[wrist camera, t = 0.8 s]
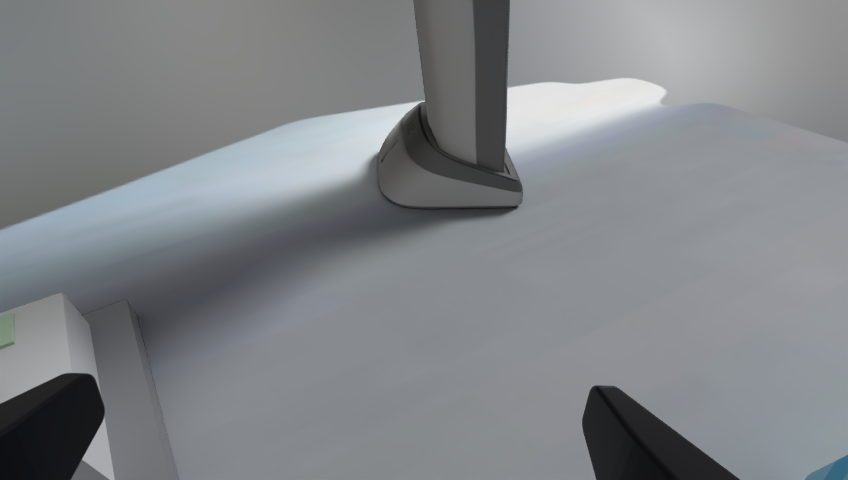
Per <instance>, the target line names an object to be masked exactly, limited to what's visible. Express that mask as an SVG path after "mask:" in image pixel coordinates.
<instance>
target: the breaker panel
mask: <svg viewBox="0 0 848 480" xmlns="http://www.w3.org/2000/svg"><path fill="white" fill-rule="evenodd" d="M65 373H88V374H91V375H92V376H93V377H95V379H96V382H97V385H98V388H99V391H100V394H101V397H102V400H103V403H104V406H105V415H104V419H103V422H102V424H101V426H100V428H99V429H98V431H97V433H96V435H95V437H94V439H93V440H92V442H91V444H90V446H89V448H88V449H87V451H86V453H85V455H84V457H83V459H82V460H81V462H80V464H79V466H78V468H77V470H76V471H75V473H74V475H73V477H72V479H71V480H179V478H178V474H177V470H176V466H175V462H174V459H173V455H172V451H171V447H170V443H169V439H168V435H167V431H166V427H165V424H164V420H163V416H162V412H161V408H160V404H159V400H158V396H157V393H156V389H155V385H154V381H153V377H152V373H151V369H150V365H149V361H148V358H147V354H146V350H145V346H144V342H143V338H142V334H141V330H140V326H139V323H138V319H137V315H136V313H135V311H134V310H133V308H132V307H131V305H130V304H129V302H128V301H127V299H124V300H122V301H119V302H116V303H113V304H111V305H108V306H105V307H103V308H100V309H97V310H95V311H92V312H89V313H86V314H84V315H81V314H80V313H79V311H78V310H77V309H76V308H75V307H74V305H73V304H72V303H71V302H70V301H69V299H68V298H67V297H66V296H65V295H64V293H63V292H60V293H57V294H54V295H51V296H48V297H45V298H42V299H39V300H36V301H33V302H30V303H28V304H25V305H22V306H19V307H16V308H13V309H10V310H7V311H4V312H1V313H0V404H1V403H3V402H5V401H7V400H9V399H11V398H13V397H15V396H17V395H19V394H22V393H24V392H26V391H28V390H30V389H32V388H34V387H36V386H38V385H40V384H42V383H44V382H47V381H49V380H51V379H53V378H55V377H57V376H59V375H61V374H65Z"/></svg>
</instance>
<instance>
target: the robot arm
mask: <svg viewBox="0 0 848 480" xmlns="http://www.w3.org/2000/svg"><path fill="white" fill-rule="evenodd" d="M104 415H105V406H104V403H103V400H102V397H101V394H100V391H99V388H98V385H97V382H96V379H95V377H93V376H92V375H91V374H88V373H65V374H61V375H59V376H57V377H55V378H53V379H51V380H49V381H47V382H44V383H42V384H40V385H38V386H36V387H34V388H32V389H30V390H28V391H26V392H24V393H22V394H19V395H17V396H15V397H13V398H11V399H9V400H7V401H5V402H3V403H1V404H0V480H71V479H72V477H73V475H74V473H75V471H76V470H77V468H78V466H79V464H80V462H81V460H82V459H83V457H84V455H85V453H86V451H87V449H88V448H89V446H90V444H91V442H92V440H93V439H94V437H95V435H96V433H97V431H98V429H99V428H100V426H101V424H102V422H103V419H104ZM582 427H583V432H584V436H585V440H586V443H587V447H588V451H589V454H590V458H591V462H592V465H593V469H594V473H595V476H596V480H740V479H739V478H737V477H736V476H735V475H733V474H732V473H731V472H729V471H728V470H727V469H725V468H724V467H723V466H721V465H720V464H719V463H717V462H716V461H715V460H713V459H712V458H711V457H709V456H708V455H707V454H705V453H704V452H703V451H701V450H700V449H699V448H697V447H696V446H695V445H693V444H692V443H691V442H689V441H688V440H687V439H685V438H684V437H683V436H681V435H680V434H679V433H677V432H676V431H675V430H673V429H672V428H671V427H669V426H668V425H667V424H665V423H664V422H663V421H661V420H660V419H659V418H657V417H656V416H655V415H653V414H652V413H651V412H649V411H648V410H647V409H645V408H644V407H643V406H641V405H640V404H639V403H637V402H636V401H635V400H633V399H632V398H631V397H629V396H628V395H627V394H625V393H624V392H623V391H621V390H620V389H619V388H617V387H615V386H600V385H596V386H593V387H592V388H591V390H590V392H589V396H588V400H587V403H586V407H585V411H584V415H583V419H582Z"/></svg>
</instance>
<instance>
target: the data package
mask: <svg viewBox="0 0 848 480" xmlns="http://www.w3.org/2000/svg"><path fill="white" fill-rule="evenodd" d="M805 480H848V455H847V456H845V457H843V458H841V459H839V460H837V461H835V462H833V463H831V464H829V465H827V466H825V467H823V468H821V469H819V470H817V471H815V472H813V473H811V474H810V475H808V476H807V478H806V479H805Z"/></svg>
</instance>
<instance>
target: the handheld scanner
mask: <svg viewBox="0 0 848 480" xmlns="http://www.w3.org/2000/svg"><path fill="white" fill-rule="evenodd" d="M509 9H510V0H414V10H415V19H416V28H417V35H418V44H419V52H420V60H421V68H422V75H423V84H424V93H425V102H421V103H419V104H418V105H417V106H415V107H414V108H413V109H411V110H410V111H409V112H408V113H406V114H405V116H404V117H403V118H402V119H401V120H400V121H399V122H398V124H397V125H396V126H395V127H394V128H393V129H392V131H391V132H390V133H389V134H388V136H387V138H386V139H385V141H384V143H383V145H382V147H381V149H380V152H379V155H378V183H379V187H380V189H381V191H382V193H383V194H384V196H385V197H386V198H387V199H388V200H389V201H391V202H393V203H394V204H397V205H399V206H403V207H408V208H422V209H440V208H505V207H516V206H518V205H519V204H521V203H522V197H523V191H522V185H521V182H520V179H519V177H518V174H517V172H516V170H515V168H514V165H513V163H512V161H511V158H510V156H509V154H508V152H507V149H506V147H505V145H506V121H507V78H508V48H509V12H510V10H509Z"/></svg>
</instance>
